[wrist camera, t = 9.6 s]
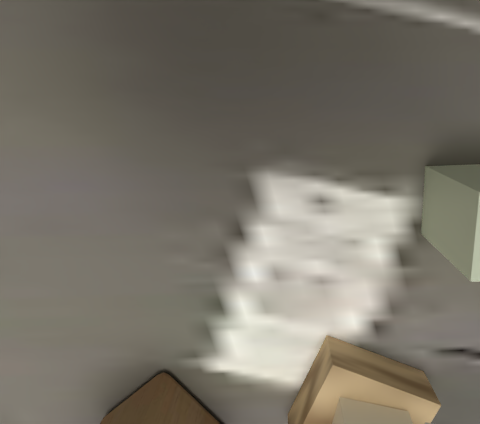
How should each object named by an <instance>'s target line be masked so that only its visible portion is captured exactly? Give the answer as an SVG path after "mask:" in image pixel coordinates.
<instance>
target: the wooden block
mask: <svg viewBox="0 0 480 424" xmlns="http://www.w3.org/2000/svg"><path fill="white" fill-rule="evenodd" d="M100 424H220V423H219V422H218V421H217V420H216V419H215V418H214V417H213V416H212V415H211V414H210V413H209V412H208V411H207V410H206V409H204V408H203V407H202V406H201V405H200V404H199V403H198V402H197V401H196V400H195V399H194V398H193V397H192V396H191V395H190V394H189V393H188V392H187V391H186V390H185V389H184V388H183V387H182V386H181V385H179V384H178V383H177V382H176V381H175V380H174V379H173V378H172V377H171V376H170V375H169V374H167V373H161V374H159V375H157V376H155V377H154V378H153V379H152V380H150V381H149V382H148V383H147V384H145V385H144V386H143V387H142V388H140V389H139V390H138V391H137V392H135V393H134V394H133V395H132V396H130V397H129V398H128V399H126V400H125V401H124V402H123V403H121V404H120V405H119V406H118V407H116V408H115V409H114V410H113V411H111V412H110V413H109V414H108V415H106V416H105V417H104V418H103V419H102V421H101V423H100Z"/></svg>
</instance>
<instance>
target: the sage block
mask: <svg viewBox="0 0 480 424" xmlns="http://www.w3.org/2000/svg"><path fill="white" fill-rule="evenodd" d="M421 234H422V235H423V236H424V237H425V238H426V239H427V240H428V241H429V242H430V243H431V244H432V245H433V246H434V247H435V248H436V249H437V250H438V251H439V252H440V253H442V254H443V255H444V256H445V257H446V258H447V259H448V260H449V261H450V262H451V263H452V264H453V265H454V266H455V267H456V268H457V269H458V270H459V271H460V272H461V273H462V274H463V275H464V276H465V277H466V278H467V279H468V280H470V281H471V282H472V281H480V164H472V165H443V166H425V178H424V193H423V209H422V225H421Z"/></svg>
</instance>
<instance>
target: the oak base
mask: <svg viewBox="0 0 480 424" xmlns="http://www.w3.org/2000/svg"><path fill="white" fill-rule="evenodd" d="M339 397H343V398H348V399H353V400H357V401H362V402H367V403H372V404H376V405H381V406H386V407H390V408H395V409H400V410H404V411H408V412H409V414H410V417H411V420H412V422H413V424H425V422H426V423H431V421H432V420H433V418H434V416H435V415H436V413H437V412H438V410H439V408H440V407H441V404H440V402H439V400H438V398H437V396H436V394H435V392H434V391H433V389H432V387H431V385H430V383H429V381H428V379H427V377H426V375H425V374H424V372H423V371H421V370H418V369H416V368H413V367H410V366H408V365H405V364H402V363H400V362H397V361H394V360H392V359H389V358H386V357H384V356H381V355H378V354H376V353H373V352H371V351H368V350H365V349H363V348H360V347H357V346H355V345H352V344H349V343H347V342H344V341H341V340H339V339H336V338H333V337H331V336H328V335H327V336H326V338H325V340H324V342H323V344H322V346H321V348H320V350H319V352H318V354H317V356H316V358H315V360H314V362H313V364H312V366H311V368H310V370H309V372H308V374H307V376H306V379H305V381H304V383H303V385H302V387H301V389H300V391H299V393H298V395H297V397H296V399H295V401H294V403H293V405H292V407H291V409H290V411H289V413H288V424H332V422H333V418H334V415H335V411H336V407H337V404H338V400H339Z"/></svg>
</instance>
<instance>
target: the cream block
mask: <svg viewBox="0 0 480 424" xmlns="http://www.w3.org/2000/svg"><path fill="white" fill-rule="evenodd" d="M332 424H413V422H412V420H411V417H410V414H409V412H408V411H404V410H400V409H395V408H390V407H386V406H381V405H376V404H372V403H367V402H362V401H357V400H353V399H348V398H343V397H339V400H338V404H337V407H336V411H335V415H334V418H333V422H332Z"/></svg>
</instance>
